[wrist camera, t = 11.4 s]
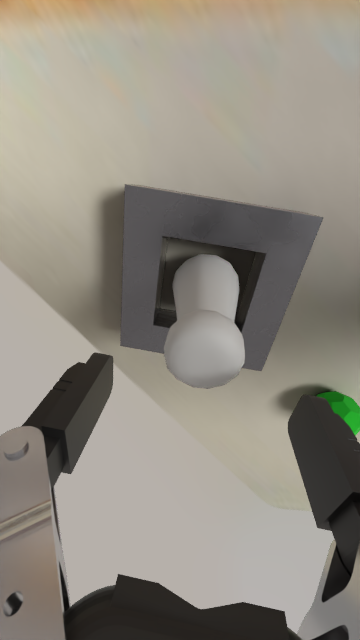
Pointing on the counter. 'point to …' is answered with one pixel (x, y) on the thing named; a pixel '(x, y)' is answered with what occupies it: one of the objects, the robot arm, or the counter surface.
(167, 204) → the collar
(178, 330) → the salt shaker
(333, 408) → the polyhedron
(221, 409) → the counter surface
